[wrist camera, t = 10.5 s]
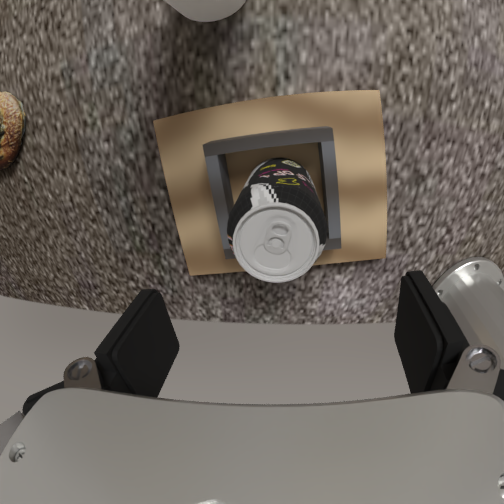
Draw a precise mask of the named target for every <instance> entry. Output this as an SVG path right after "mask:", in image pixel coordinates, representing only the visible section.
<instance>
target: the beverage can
mask: <svg viewBox="0 0 504 504" xmlns="http://www.w3.org/2000/svg"><path fill="white" fill-rule="evenodd" d="M227 236H228V242H229V245H230V248H231V250H232V252H233V254H234V255H235V257H236V259H237V261H238V262H239V264H240V265H241V266H242V268H243V269H244V270H245V271H246V272H248V273H249V274H250V275H252V276H254V277H255V278H257V279H260V280H263V281H266V282H272V283H282V282H287V281H291V280H294V279H296V278H298V277H300V276H302V275H303V274H305V273H306V272H307V271H308V270H309V269H310V268H311V266H312V265H313V264H314V263H315V262H316V260H317V259H318V258H319V256H320V255H321V253H322V251H323V249H324V246H325V243H326V238H327V224H326V219H325V215H324V212H323V209H322V207H321V204H320V201H319V198H318V195H317V192H316V190H315V187H314V184H313V182H312V179H311V177H310V175H309V173H308V172H307V170H306V169H305V168H304V167H303V166H302V165H301V164H299V163H297V162H296V161H294V160H291V159H288V158H272V159H268V160H266V161H264V162H262V163H260V164H259V165H258V166H256V168H255V169H254V170H253V171H252V173H251V174H250V176H249V178H248V180H247V182H246V183H245V185H244V187H243V189H242V191H241V193H240V195H239V197H238V199H237V200H236V202H235V204H234V206H233V208H232V210H231V212H230V215H229V218H228V223H227Z"/></svg>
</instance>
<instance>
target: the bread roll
mask: <svg viewBox="0 0 504 504" xmlns="http://www.w3.org/2000/svg"><path fill="white" fill-rule="evenodd" d="M25 124H26V123H25V113H24V109H23V104H22V103H21V102H20V101H19V100H18V99H17V98H15V97H14V96H13V95H11V93H8V92H0V170H3V169H6V168H8V167H10V166H11V165H12V164H13V163H14V162H15V161H14V160H15V159H16V158H17V156H18V154H19V151H20V148H21V145H22V141H21V139H22V137H23V134H24V132H25Z"/></svg>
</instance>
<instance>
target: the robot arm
mask: <svg viewBox="0 0 504 504" xmlns="http://www.w3.org/2000/svg"><path fill="white" fill-rule="evenodd" d="M394 337H395V342H396V345H397V349H398V352H399V355H400V358H401V361H402V365H403V368H404V371H405V374H406V378H407V381H408V385H409V388H410V392H411V394H405V395H398V396H390V397H383V398H374V399H364V400H355V401H344V402H331V403H313V404H284V405H283V404H280V405H258V404H226V403H209V402H195V401H184V400H173V399H164V398H157V397H158V395H159V392H160V390H161V388H162V386H163V384H164V381H165V379H166V377H167V375H168V373H169V371H170V369H171V366H172V364H173V362H174V360H175V358H176V356H177V354H178V351H179V342H178V339H177V337H176V334H175V331H174V328H173V326H172V323H171V320H170V317H169V315H168V312H167V309H166V306H165V303H164V300H163V297H162V295H161V293H158V291H157V290H155V289H146V290H141V291H140V293H139V294H138V295H137V297H136V298H135V299H134V300H133V302H132V303H131V304H130V305H129V307H128V308H127V309H126V311H125V312H124V313H123V315H122V316H121V317H120V319H119V320H118V321H117V323H116V324H115V325H114V326H113V328H112V329H111V330H110V332H109V333H108V334H107V336H106V337H105V338H104V340H103V341H102V342H101V344H100V345H99V347H98V348H97V349H96V351H95V352H94V353H95V355H96V357H97V358H96V359H95V361H94V360H93V359H92V358H89V357H83V358H79V359H77V360H75V361H73V362H72V363H70V364H69V365H68V366H67V368H66V369H65V371H64V381H62V382H60V383H58V384H55V385H53V386H51V387H49V388H47V389H44V390H42V391H40V392H37V393H35V394H33V395H31V396H29V397H28V398H27V400H26V402H25V403H24V405H23V413H21V412H20V411H18V412H17V413H16V414H14V415H13V416H11V417H10V418H9V419H7V420H6V421H4V422H3V423H2V424H0V504H504V277H503V274H502V272H501V270H500V269H499V267H498V266H497V265H496V264H495V263H494V262H493V261H491V260H489V259H487V258H483V257H473V258H469V259H466V260H463V261H461V262H459V263H457V264H455V265H454V266H453V267H451V268H450V269H448V270H447V271H446V272H445V273H444V274H443V275H442V276H441V277H440V278H439V279H438V280H437V282H436V283H435V284H434V285H433V287H432V286H431V284H430V283H429V281H428V279H427V278H426V276H425V275H424V273H423V272H422V271H410V272H407V273H406V276H402V278H401V286H400V296H399V304H398V312H397V319H396V326H395V333H394Z"/></svg>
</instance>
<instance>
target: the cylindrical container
mask: <svg viewBox="0 0 504 504" xmlns="http://www.w3.org/2000/svg"><path fill="white" fill-rule="evenodd" d="M164 1H165V2H167V3H168V4H169V5H171V6H172V7H173V8H174V9H176V10H177V11H178V12H179V13H181V14H182V15H183V16H185V17H186V18H189V19H191V20H194V21H198V22H212V21H217V20H221V19H224V18H226V17H228V16H230V15H232V14H233V13H235V12H236V11H237V10H239V9H240V8H241V7H242V5H243V4H244V3H245V2H246V0H164Z"/></svg>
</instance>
